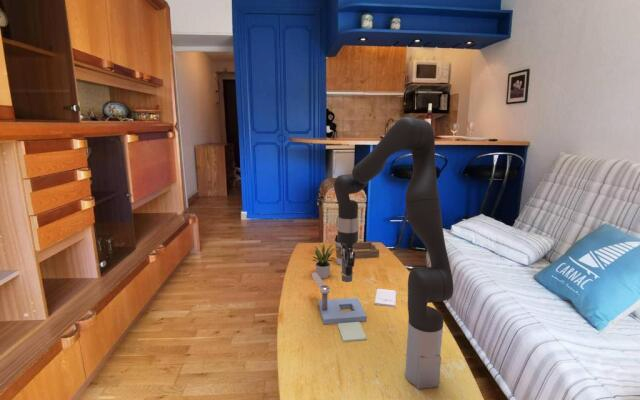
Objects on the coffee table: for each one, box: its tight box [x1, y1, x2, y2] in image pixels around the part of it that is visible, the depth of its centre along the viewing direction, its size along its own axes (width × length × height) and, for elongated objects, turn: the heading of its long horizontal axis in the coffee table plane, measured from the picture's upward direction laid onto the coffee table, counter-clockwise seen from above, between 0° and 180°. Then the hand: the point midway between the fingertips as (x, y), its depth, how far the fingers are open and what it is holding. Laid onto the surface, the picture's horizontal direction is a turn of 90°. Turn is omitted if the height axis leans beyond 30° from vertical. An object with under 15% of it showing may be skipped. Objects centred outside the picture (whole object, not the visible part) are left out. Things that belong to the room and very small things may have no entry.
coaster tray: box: [352, 241, 380, 260], centre depth 194 cm, size 14×14×4 cm
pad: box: [337, 322, 368, 343], centre depth 122 cm, size 10×8×1 cm
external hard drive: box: [374, 288, 397, 308], centre depth 145 cm, size 2×8×12 cm
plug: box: [340, 258, 354, 283], centre depth 130 cm, size 5×5×8 cm
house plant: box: [311, 242, 336, 280], centre depth 164 cm, size 14×14×16 cm
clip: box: [311, 271, 331, 294], centre depth 137 cm, size 4×16×2 cm, turn 17°
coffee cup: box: [334, 234, 342, 266], centre depth 179 cm, size 8×8×15 cm
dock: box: [317, 293, 368, 325], centre depth 133 cm, size 14×16×9 cm
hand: (347, 272), depth 130 cm, fingers closed on plug, 4 cm apart
